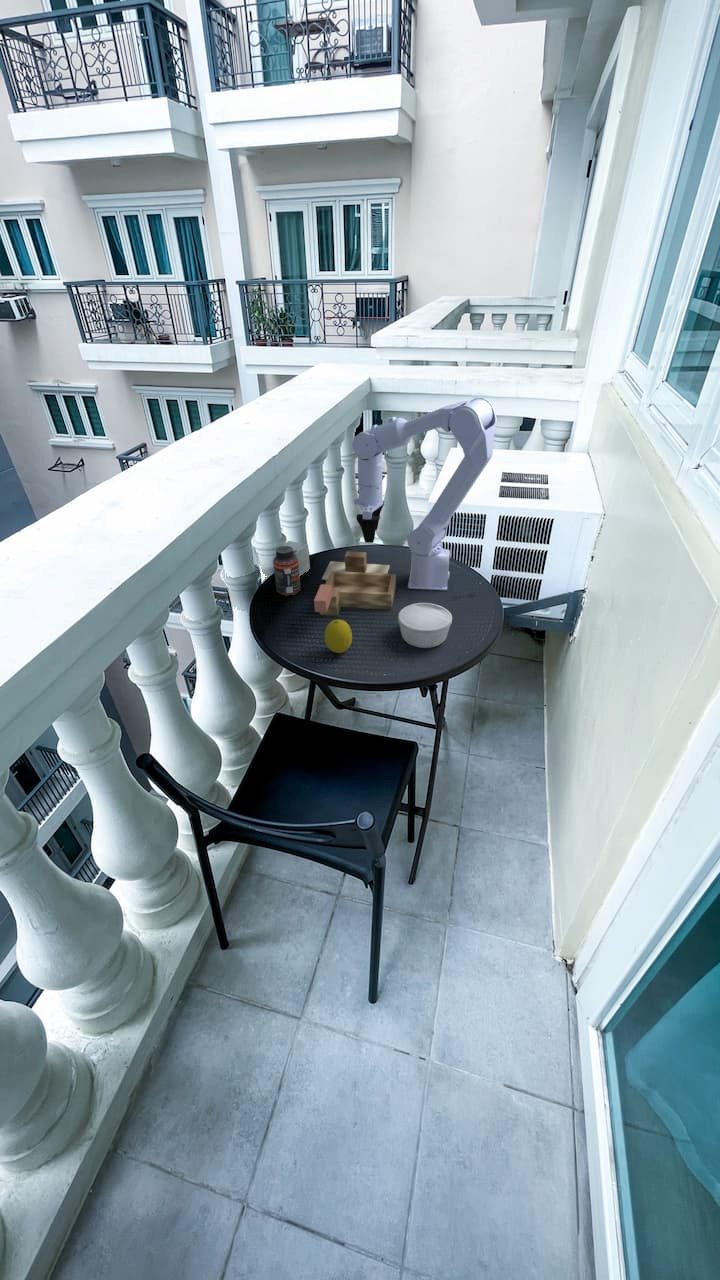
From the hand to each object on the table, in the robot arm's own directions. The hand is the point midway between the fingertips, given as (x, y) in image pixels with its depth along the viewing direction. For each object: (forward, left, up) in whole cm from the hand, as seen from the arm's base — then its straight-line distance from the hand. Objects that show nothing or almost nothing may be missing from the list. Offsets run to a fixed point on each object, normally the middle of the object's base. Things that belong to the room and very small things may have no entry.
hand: (371, 535), depth 137 cm
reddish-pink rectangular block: (+7, +27, -4) cm, 29 cm away
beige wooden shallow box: (+1, +17, -9) cm, 19 cm away
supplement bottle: (+19, +14, -10) cm, 25 cm away
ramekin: (-15, +30, -10) cm, 35 cm away
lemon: (+2, +38, -10) cm, 39 cm away
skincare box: (+20, +4, -10) cm, 22 cm away
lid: (+4, +3, -10) cm, 11 cm away
